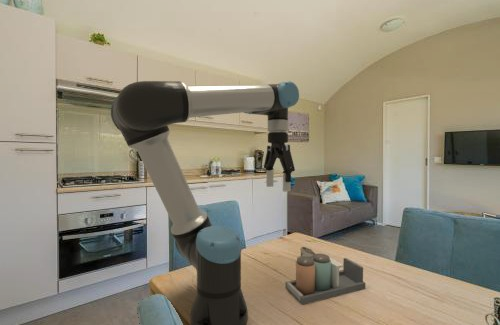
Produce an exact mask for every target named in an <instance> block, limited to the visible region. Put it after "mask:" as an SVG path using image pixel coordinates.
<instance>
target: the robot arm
mask: <svg viewBox="0 0 500 325" xmlns="http://www.w3.org/2000/svg"><path fill="white" fill-rule="evenodd" d="M299 99H300V91H299V87H298V86H297V84H295V82H293V81H291V80H287V81H281V82H280V83H276V84H275V83H273V84H272V83H270V84H269V83H268V84H219V85H217V84H215V85H213V84H212V85H186V84H185V83H184V82H183V81H180V80H179V81H170V80H169V81H168V80H166V81H165V80H163V81H161V80H142V81H135V82H132V83H129V84H127V85H126V86H124V87H123V88H122V89H121V90H120V91H119V94H117V96H115V98H114V99H113V101H112V104H111V107H110V117H111V120H112V123H113V125H114V126H115V127H116V129H117V130H119V132H121V134H122V137H123V139H124V141H125V142H126V145H127V146H128V148H130V149H133V150H135V151H137V153H138V155H139V157H140V159H141V162H142V164H143V166H144V168H145V170H146V172H147V174H148V176H149V178H150V180H151V181H152V184H153V186H154V187H155V190H156V192H157V194H158V196H159V198H160V201H161V202H162V204H163V206H164V208H165V211H166V212H167V215H168V216H169V218H170V221H171V223H172V225H171V228H170V232H171V235H172V237H173V240H174V245H175V248H176V250H177V252H178V253H179V255H181V257H183V258H184V260H185V259H186V261H188V263H189V264H191V266H192V267H194V269H196V270H195V271H196V294H195V298H194V300H193V304H192V307H191V311H190V325H246V324H247V321H248V318H249V317H248V315H249V314H248V311H249V310H248V305H247V302H246V299H245V296H244V293H243V290H242V265H241V264H242V255H241V254H242V244H241V237H240V235H239V233H238V232H237V231H235V230H234V229H233V228H231V227H227V226H223V225H222V226H221V225H213V224H212V222H211V220H210V218H209V216H208V214H207V212H205V211H202V210H200V208H199V206H198V204H197V201H196V199H195V196H194V194H193V192H192V190H191V188H190V186H189V184H188V180H187V179H186V177H185V174H184V173H183V170H182V169H181V166H180V164H179V162H178V159H177V158H176V154H175V153H174V150H173V149H172V148H173V147H172V146H171V144H170V142H169V138H168V137H169V135H170V132H171V130H170V128H169V125H174V124H178V123H180V124H181V123H186V122H187V121H188V120H189V119H190V118H201V117H210V116H219V115H230V114H239V113H240V114H241V113H243V114H247V115H260V116H267V143H268V144H270V145H267V146H266V154H265V158H264V164H263V169H265V170H266V187H267V188H270V187H271V188H273V187H274V170H275V169H274V167H275V166H274V165H275V163H276V161H277V159H279V162H280V165H281V167H282V169H283V171H282V192H284V193H285V192H286V193H287V192H291V189H292V188H291V185H292V184H291V182H292V173H293V172H295V170H296V169H295V164H294V161H293V156H292V153H291V145H290V144H287V143H289V133H288V130H289V127H288V126H289V121H288V120H289V108H292V107H293V106H296V104H297V103H298V101H299Z"/></svg>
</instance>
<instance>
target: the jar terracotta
mask: <svg viewBox="0 0 500 325" xmlns="http://www.w3.org/2000/svg"><path fill="white" fill-rule="evenodd" d="M295 280H296V289H297V290H298V291H299V292H301V293H302V294H303V296H306V295H310V294H314V293H315V262H314V259H312V258H311V257H307V256H301V255H300V256H298V257H297V258H296V261H295Z"/></svg>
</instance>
